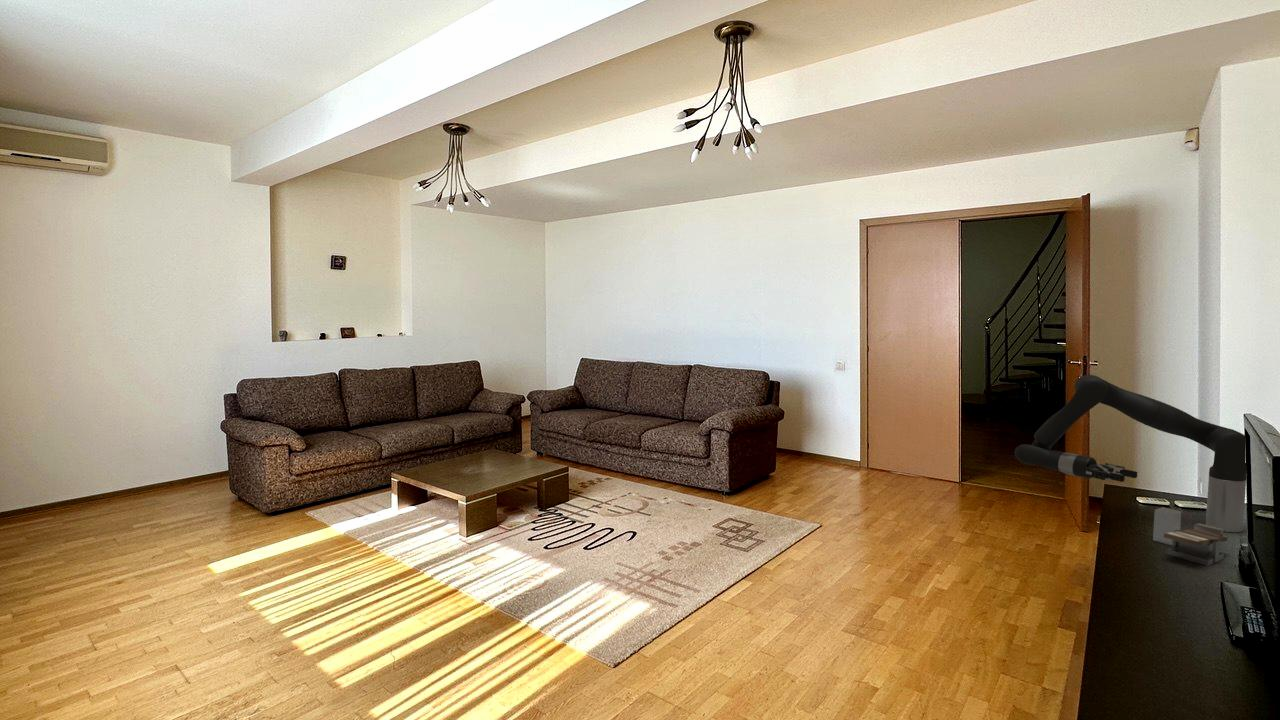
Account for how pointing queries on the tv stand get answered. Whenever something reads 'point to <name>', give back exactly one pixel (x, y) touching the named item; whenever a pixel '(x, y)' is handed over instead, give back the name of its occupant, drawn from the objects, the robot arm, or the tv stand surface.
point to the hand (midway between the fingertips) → (1130, 476)
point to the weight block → (1165, 524)
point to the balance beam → (1198, 535)
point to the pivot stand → (1196, 552)
